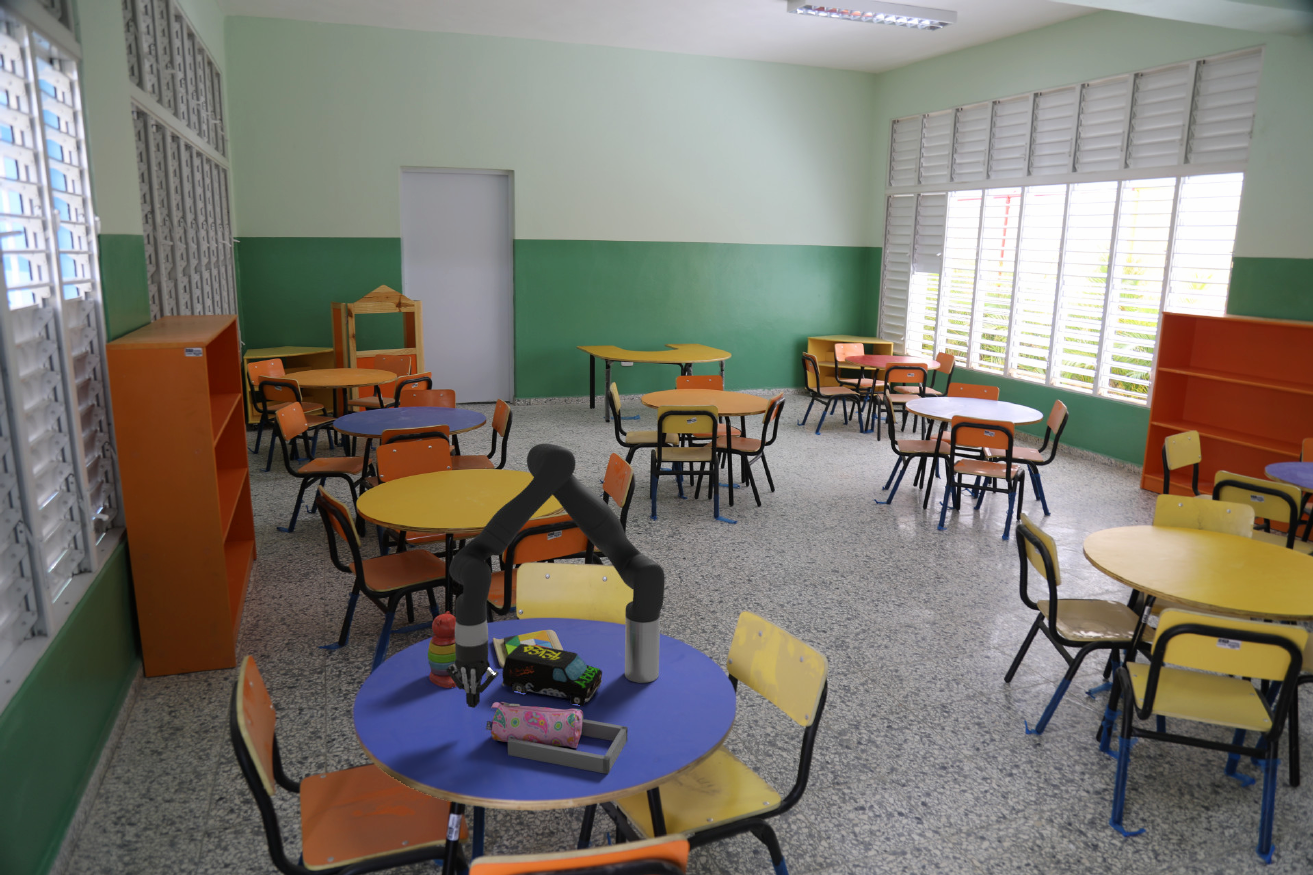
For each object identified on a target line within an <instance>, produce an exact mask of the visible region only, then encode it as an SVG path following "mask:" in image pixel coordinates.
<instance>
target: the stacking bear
mask: <svg viewBox="0 0 1313 875" xmlns="http://www.w3.org/2000/svg"><path fill="white" fill-rule="evenodd" d="M455 625H456V615H455V616H454V615H453V614H451V611H450V610H449V611H448V610H447V611H446V612H445V613H441V614H439V615H437V616H435V618H434V619H433V621H432V623H431V627H432V628H431V630H432V631H433V635H432V638H431V639H430V640H429V644H428V650H427V660H428V661H427V662H428V665H429V668H430V672H429V680H430V682H431V683H433V684H434V685H436V686H438V687H441V688H445V689H453V688H452V687H454V688H456V687H457V685H456V684H455V683H454V681H453V680H452V678H451V677H450V675H449V674H448V673H447V671H446V669H447V668H448V667H449V666H450V665H451V664H454V663H455V660H456V656H455Z"/></svg>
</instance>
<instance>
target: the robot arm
mask: <svg viewBox="0 0 1313 875" xmlns="http://www.w3.org/2000/svg"><path fill="white" fill-rule="evenodd" d="M526 466H527V468H528V471H529V473H530V475H531V476H532V477H533V478H532V480H531V481H530V482H529V484H527V486H526V487H525V488H523V490H522V491H520V493H518V494H517V495H516V496H515V497H513V498H512V499H511V500H510V501H508V502H506V503H505V504H504V505H503V506H502V507H500V508H499V509H498V510H497V511H496V512H495V514H494V515H492V517H491V518H490V519H489V521H488V522H487V523H486V525H485V526H484V528H483V529H482V530H481V531H480V533H479V534H478V535H477V536H475V537H474V538H473V539H471V540H470V541H468V543H466V545H464V546H463V547H462V548H461V549H460V550H459V551H457V553H455V554H454V556H453V558H452V559H451V561H450V565H449V568H448V569H449V570H448V572H449V575H450V577H451V578H452V580H453V581H455V582H457V583H459V584H460V585H462V586H463V591H462V592H463V593H461V594H460V595H459V596H457V598H456V600H455V606H454V607H455V617H456V625H455V656H456V660H455V663H454V664H451V665H450V666H449V667H448V668H447V669H446V671H447V673H448V674H449V675H450V677H451V678H452V680H453V681H454V683H455V684H456V685H457V686H456V687H457V688H458V690H464V693H465V701H466V702H465V703H466V705H467V706H468V708H474V709H475V708H476V707H477V706H478V705H479V704H480V701H481V697H480V696H481V693H483V692H484V691H485V690H486V689H487V688H488V687H489V686H490V684H491V683H493V681H494V680H495V679H496V678H497V677H498V676H499V671H498V670H495V671H494V670H493V669H492V668H491V664H490V662H489V628H488V625H489V624H488V620H487V619H488V616H487V612H488V611H487V610H488V609H487V601H488V597H489V594H490V589H491V585H492V571H491V570H492V569H491V567H490V566H489V563H488V562H487V560H488V559H489V558H490V557H492V556H494V557H495V556H501V555H502V554H503V553H504V552H505V551H506V550H507V548H508V547H509V545H511V544H512V542H513V541H514V540H515V538H516V537H517V535H518V534H519V532H520V531H521V530H522V529H523V528H524V526H525V525H526V524H527V523H528V521H529V520H531V518H532V516H534V515H535V514H536V512H537V511H539V509H540V508H541V507H542V506H544V504H545V503H546V502H547V501H548V500H549V499H550V498H552V496H553V497H554V498H555V499H556V500H557V502H558V503H559V504H560V505H561V507H562V508H563V510H565V513H567V514H568V516H569V517H570V518H571V519H572V521H573V522H574V523H575V524H576V525H577V527H578V528H579V530H580V531H581V532H582V533H583V534H584V536H585V537H586V538H587V539H588V540H589V542H591V543H592V544H593V545H594V546H595V548H597V550H599V551H600V552H601V553H602V554H603V555H604V556H605V557H606V558H607V559H608V561H610V563H611V564H612V566H613V567H614V569H615V570H616V572H617V574H618V575H619V577H620V579H621V580H622V581H623V583H624V584H625V585H626V586H627V587H629V588H630V589H631V590H632V592H633V594H632V601H629V602H628V603H627V604H626V606H625V610H624V611H625V621H624V622H625V624H624V625H625V627H624V628H625V632H624V633H625V635H624V636H625V637H624V638H625V639H624V641H625V642H624V676H625V678H626V680H628V681H631V682H633V683H639V684H645V683H650V682H653V681H655V680H657V679H658V678H659V674H660V673H659V672H660V634H661V633H660V628H661V627H660V626H661V624H660V623H661V622H660V621H661V611H662V608H663V607H664V606H663V604H664V596H665V584H666V583H665V578H666V577H665V572H664V569H663V567H662V566H661V565H660V564H658V563H657V562H656V561H654V560H652V559H651V558H649V557H648V556H646V555H645V554H644V553H642V552H641V551H640V550H639V549H638V548H636V547H635V545H634V544H633V543H632V542H631V541H630V540H629V538H628V537H627V535H626V532H625V530H624V528H623V524H622V523H621V520H620V519H619V517H618V516H617V514H616V513H615V512H614V511H613V510H612V508H611V507H610V506H609V504H607V502H605V500H604V499H602V497H600V496H599V494H597V493H596V492H595V491H593V490H592V489H590V488H589V487H588V486H587V485H585V483H582V482H581V481H580V480H579V479H578V478H577V477H576V476H575V474H574V472H575V469H576V457H575V455H574V453H573V452H572V451H571V449H569V448H567V447H565V446H561V445H557V444H551V443H538V444H536V445H534V446H532V447H531V448H530V449H529V451H528V453H527V456H526ZM485 674H486V675H485ZM484 675H485V681H484V682H483V683H482V680H483V677H484Z"/></svg>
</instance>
